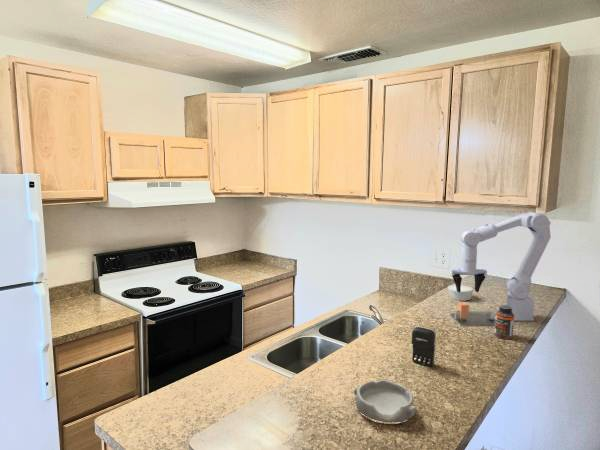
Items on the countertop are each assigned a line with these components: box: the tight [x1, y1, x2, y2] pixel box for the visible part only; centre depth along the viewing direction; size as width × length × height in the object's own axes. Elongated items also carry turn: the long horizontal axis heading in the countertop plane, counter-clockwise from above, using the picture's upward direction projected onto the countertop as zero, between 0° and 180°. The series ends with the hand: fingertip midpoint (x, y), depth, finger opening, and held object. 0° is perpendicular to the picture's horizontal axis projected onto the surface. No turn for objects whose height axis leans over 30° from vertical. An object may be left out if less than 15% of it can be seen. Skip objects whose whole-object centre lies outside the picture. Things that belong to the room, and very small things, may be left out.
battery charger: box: [411, 325, 437, 367], centre depth 120 cm, size 7×4×11 cm, turn 55°
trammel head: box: [456, 301, 470, 320], centre depth 155 cm, size 3×4×6 cm
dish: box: [353, 379, 417, 422], centre depth 97 cm, size 14×14×5 cm
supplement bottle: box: [494, 304, 515, 340], centre depth 139 cm, size 6×6×11 cm
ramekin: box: [447, 284, 474, 302], centre depth 183 cm, size 11×11×5 cm
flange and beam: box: [449, 310, 496, 327], centre depth 155 cm, size 16×12×4 cm
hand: (467, 291), depth 160 cm, fingers open, 7 cm apart
